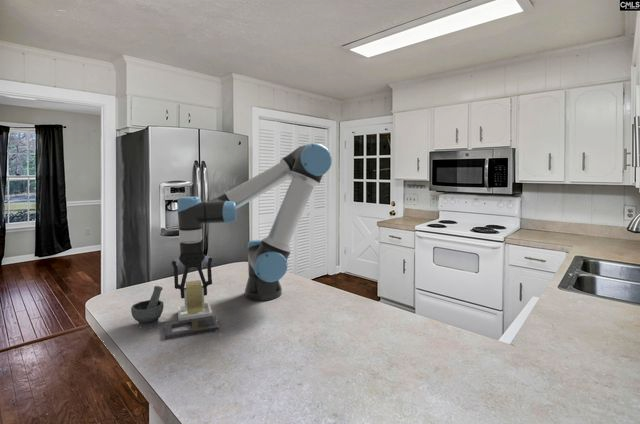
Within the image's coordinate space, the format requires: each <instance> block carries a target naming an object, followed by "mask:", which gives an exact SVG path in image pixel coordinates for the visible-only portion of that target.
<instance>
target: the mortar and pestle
mask: <svg viewBox="0 0 640 424" xmlns="http://www.w3.org/2000/svg"><path fill="white" fill-rule="evenodd" d="M163 289H164V288H163V286H162V287H161V286H159V285H154V287H153V292H152V295H151V297H150V299H148V300H142V301H138V302H137V303H134V304H132V305H131V308H130V313H131V316H132V317H133V319H134V320H135V321H137V322H138V327H139V328H140V329H150V328H154V327H157V326H158V325H159V324H160V321H159V319H160V318H161V316H162V313H163V312H164V304H165V303H164V301H163V300H161V299H160V296H161V292H162V291H163Z"/></svg>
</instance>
